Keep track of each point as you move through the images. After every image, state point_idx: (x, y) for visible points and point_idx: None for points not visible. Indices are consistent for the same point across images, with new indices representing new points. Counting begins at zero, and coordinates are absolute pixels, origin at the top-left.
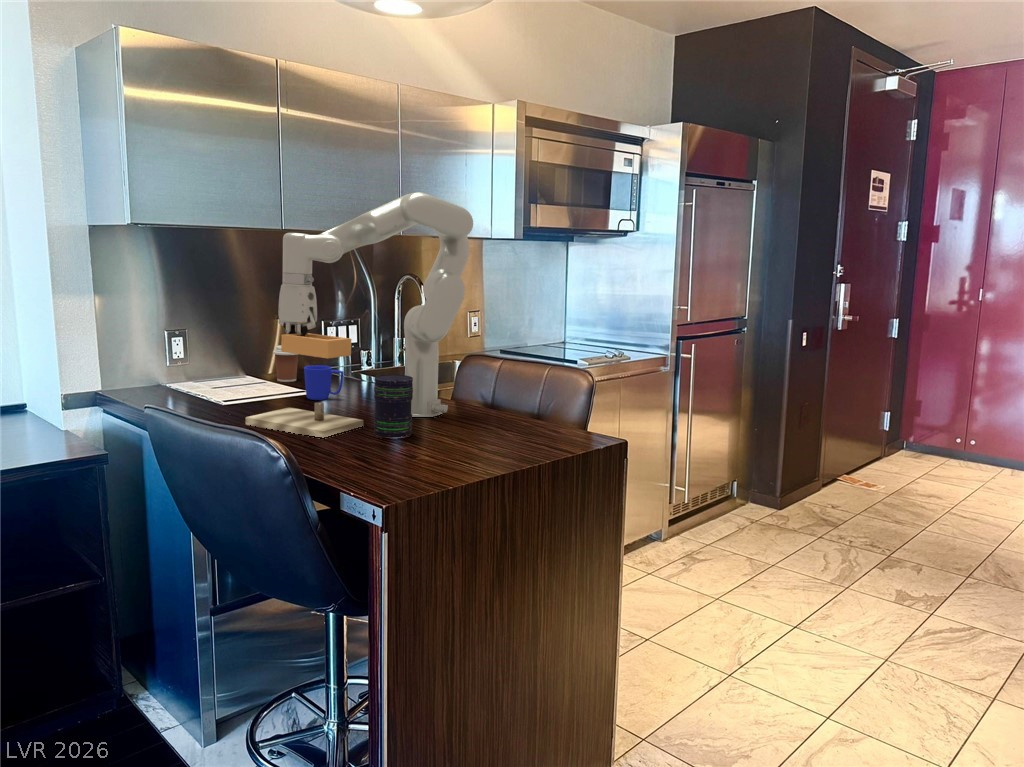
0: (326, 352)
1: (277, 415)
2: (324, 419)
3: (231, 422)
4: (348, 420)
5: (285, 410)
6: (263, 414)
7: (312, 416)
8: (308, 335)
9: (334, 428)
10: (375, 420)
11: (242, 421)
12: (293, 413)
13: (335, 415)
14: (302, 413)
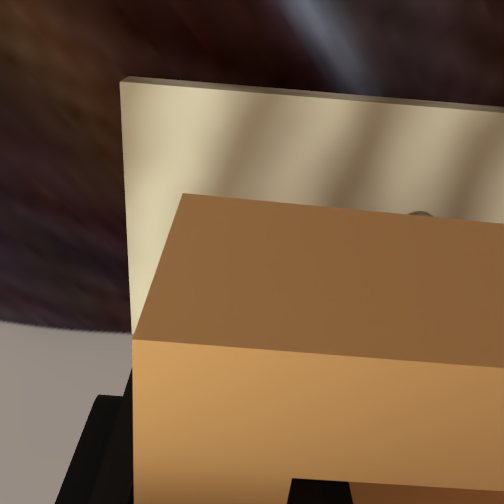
0: None
1: None
2: (432, 210)
3: (69, 314)
4: None
5: (161, 152)
6: (147, 267)
7: (352, 189)
8: (355, 462)
9: None
10: None
11: (85, 284)
12: (239, 186)
13: (442, 111)
14: (274, 163)
